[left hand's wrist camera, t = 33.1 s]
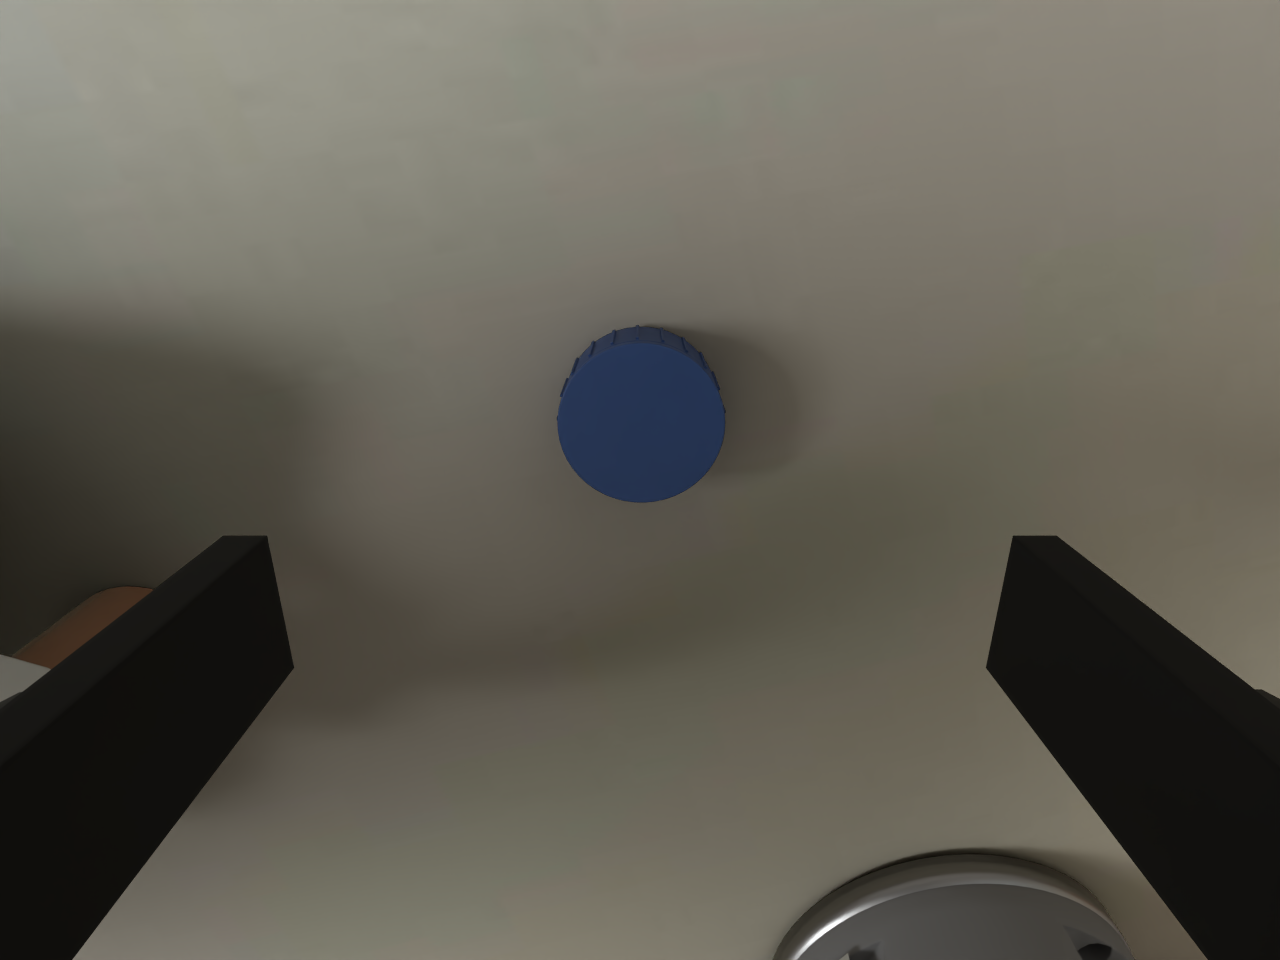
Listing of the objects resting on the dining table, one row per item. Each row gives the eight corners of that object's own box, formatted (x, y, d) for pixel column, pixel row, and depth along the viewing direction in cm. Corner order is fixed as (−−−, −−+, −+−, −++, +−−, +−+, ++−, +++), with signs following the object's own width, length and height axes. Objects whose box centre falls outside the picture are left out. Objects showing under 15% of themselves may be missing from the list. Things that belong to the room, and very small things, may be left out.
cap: (618, 499, 23) (616, 533, 21) (532, 379, 21) (520, 401, 19) (746, 424, 22) (757, 451, 20) (665, 293, 20) (668, 306, 18)
